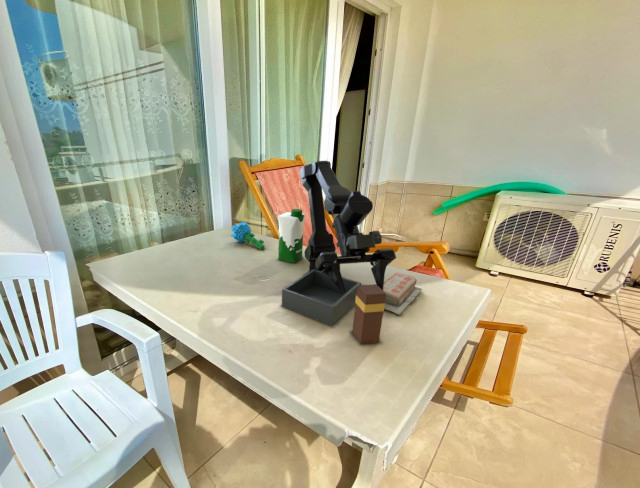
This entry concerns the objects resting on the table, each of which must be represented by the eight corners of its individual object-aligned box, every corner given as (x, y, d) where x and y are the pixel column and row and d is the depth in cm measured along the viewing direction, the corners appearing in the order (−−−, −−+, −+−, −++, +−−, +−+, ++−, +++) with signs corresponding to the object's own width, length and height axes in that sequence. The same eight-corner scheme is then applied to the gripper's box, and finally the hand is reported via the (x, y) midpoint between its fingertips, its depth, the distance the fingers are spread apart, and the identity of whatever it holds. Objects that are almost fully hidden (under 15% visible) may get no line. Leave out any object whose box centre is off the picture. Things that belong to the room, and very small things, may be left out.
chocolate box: (351, 332, 75) (356, 285, 70) (369, 330, 75) (376, 284, 71) (360, 344, 71) (366, 294, 66) (379, 342, 71) (386, 293, 66)
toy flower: (253, 258, 131) (229, 239, 143) (268, 253, 137) (243, 235, 148) (256, 241, 127) (231, 222, 138) (272, 236, 132) (246, 219, 143)
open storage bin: (312, 284, 100) (313, 269, 98) (359, 299, 90) (361, 282, 88) (281, 305, 88) (281, 289, 86) (331, 326, 78) (333, 307, 76)
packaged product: (390, 268, 98) (424, 277, 91) (388, 282, 99) (421, 292, 93) (365, 288, 86) (402, 300, 79) (363, 303, 88) (399, 316, 81)
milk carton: (295, 264, 115) (297, 213, 108) (274, 260, 120) (275, 210, 113) (305, 257, 122) (307, 208, 115) (285, 253, 127) (286, 206, 120)
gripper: (321, 221, 71) (335, 284, 65) (397, 216, 72) (419, 278, 66) (310, 242, 81) (321, 298, 75) (377, 238, 83) (394, 293, 76)
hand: (362, 292), depth 73 cm, fingers open, 9 cm apart
